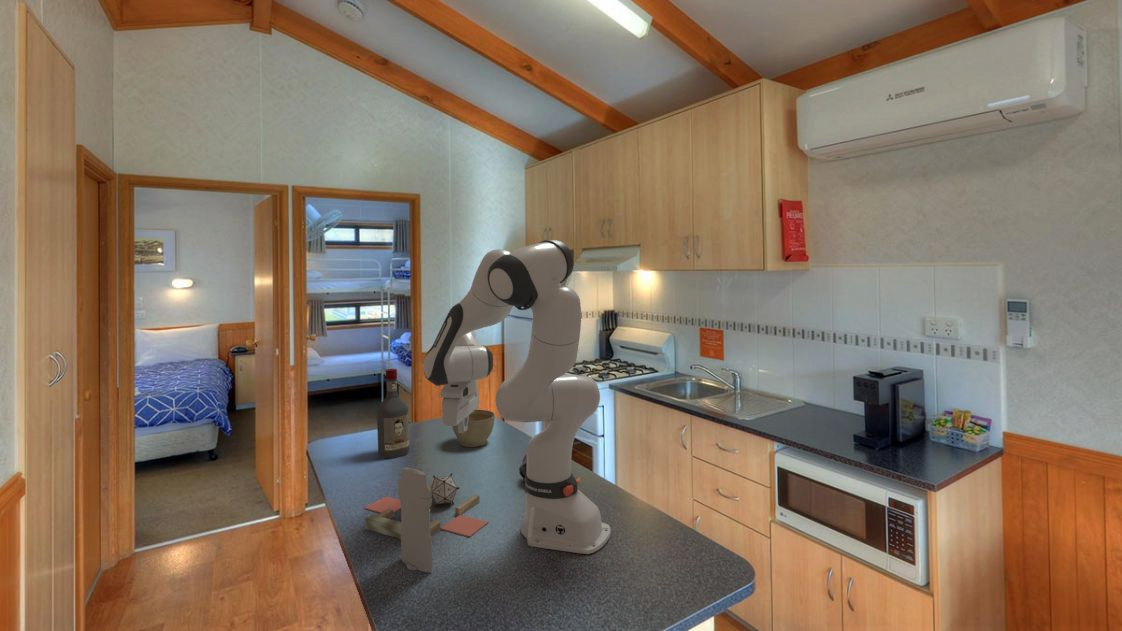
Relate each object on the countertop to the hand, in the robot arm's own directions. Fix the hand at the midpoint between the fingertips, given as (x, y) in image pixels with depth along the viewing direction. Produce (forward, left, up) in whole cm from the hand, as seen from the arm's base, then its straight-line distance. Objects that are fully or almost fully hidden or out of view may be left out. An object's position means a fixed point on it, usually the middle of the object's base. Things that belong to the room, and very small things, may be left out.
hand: (462, 431), depth 154 cm
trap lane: (0, +17, -18) cm, 25 cm away
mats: (0, +18, -18) cm, 25 cm away
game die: (0, +10, -18) cm, 20 cm away
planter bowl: (+22, -35, -18) cm, 45 cm away
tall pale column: (-14, +37, -18) cm, 43 cm away
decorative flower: (-18, -15, -18) cm, 30 cm away
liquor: (+41, -14, -18) cm, 47 cm away
